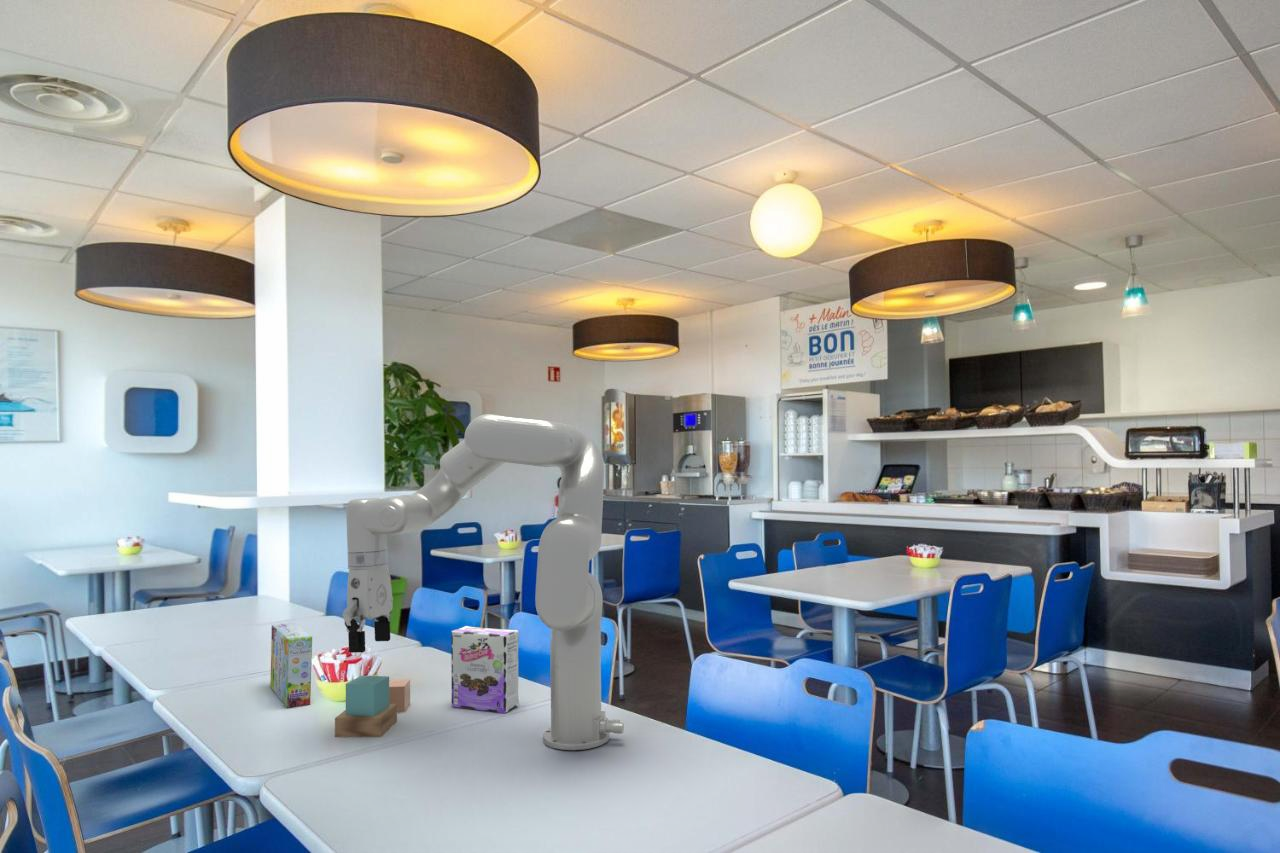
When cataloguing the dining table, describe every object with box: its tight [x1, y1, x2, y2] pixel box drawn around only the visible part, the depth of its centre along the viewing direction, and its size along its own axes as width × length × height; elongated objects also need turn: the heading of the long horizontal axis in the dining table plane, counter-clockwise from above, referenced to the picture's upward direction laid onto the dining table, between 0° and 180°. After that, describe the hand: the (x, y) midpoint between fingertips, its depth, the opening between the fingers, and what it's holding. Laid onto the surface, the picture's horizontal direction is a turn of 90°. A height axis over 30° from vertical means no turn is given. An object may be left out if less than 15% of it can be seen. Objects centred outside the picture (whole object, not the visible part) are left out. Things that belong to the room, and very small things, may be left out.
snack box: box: [269, 621, 313, 709], centre depth 182 cm, size 21×6×15 cm, turn 34°
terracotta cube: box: [389, 679, 411, 714], centre depth 170 cm, size 6×6×6 cm
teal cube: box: [345, 675, 390, 716], centre depth 158 cm, size 6×6×6 cm
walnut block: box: [334, 704, 398, 738], centre depth 157 cm, size 9×9×4 cm
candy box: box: [450, 625, 519, 714], centre depth 171 cm, size 14×6×16 cm, turn 68°
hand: (370, 646), depth 158 cm, fingers open, 9 cm apart
